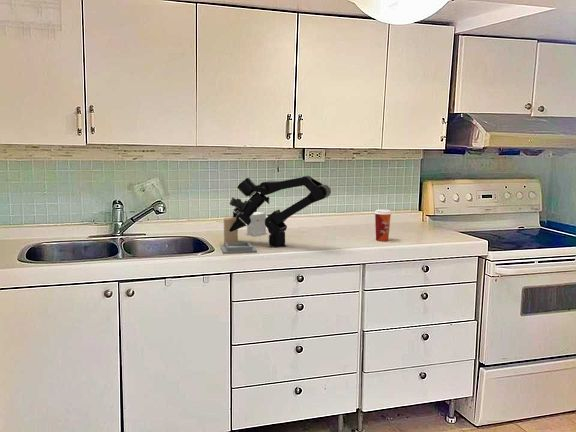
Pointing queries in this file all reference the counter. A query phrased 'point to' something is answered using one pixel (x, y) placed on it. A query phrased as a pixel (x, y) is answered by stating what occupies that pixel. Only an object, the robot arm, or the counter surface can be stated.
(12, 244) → the counter surface
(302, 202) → the robot arm
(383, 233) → the paper cup
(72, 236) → the counter surface
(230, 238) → the carton
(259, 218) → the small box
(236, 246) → the tray
